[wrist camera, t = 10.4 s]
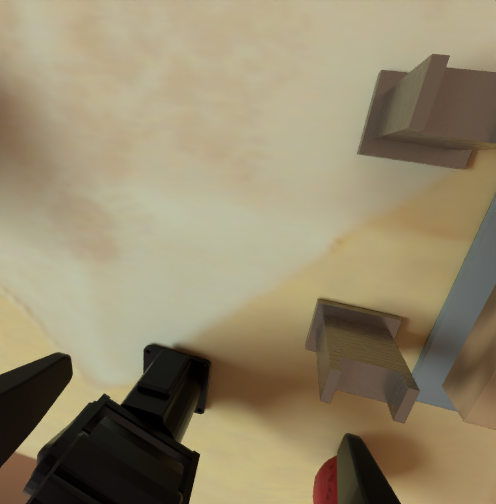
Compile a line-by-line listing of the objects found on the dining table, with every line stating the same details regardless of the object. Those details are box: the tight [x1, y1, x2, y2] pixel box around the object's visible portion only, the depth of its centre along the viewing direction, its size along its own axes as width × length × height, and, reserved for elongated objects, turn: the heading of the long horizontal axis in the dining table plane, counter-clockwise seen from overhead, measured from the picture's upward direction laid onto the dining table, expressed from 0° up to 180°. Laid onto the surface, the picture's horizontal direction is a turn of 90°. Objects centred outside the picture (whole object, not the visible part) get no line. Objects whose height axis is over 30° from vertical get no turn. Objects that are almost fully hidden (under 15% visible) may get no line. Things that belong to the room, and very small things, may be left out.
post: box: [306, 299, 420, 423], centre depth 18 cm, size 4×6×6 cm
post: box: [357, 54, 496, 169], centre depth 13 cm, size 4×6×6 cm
